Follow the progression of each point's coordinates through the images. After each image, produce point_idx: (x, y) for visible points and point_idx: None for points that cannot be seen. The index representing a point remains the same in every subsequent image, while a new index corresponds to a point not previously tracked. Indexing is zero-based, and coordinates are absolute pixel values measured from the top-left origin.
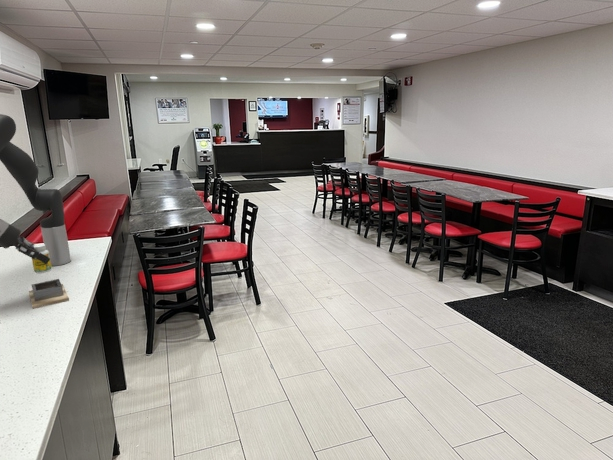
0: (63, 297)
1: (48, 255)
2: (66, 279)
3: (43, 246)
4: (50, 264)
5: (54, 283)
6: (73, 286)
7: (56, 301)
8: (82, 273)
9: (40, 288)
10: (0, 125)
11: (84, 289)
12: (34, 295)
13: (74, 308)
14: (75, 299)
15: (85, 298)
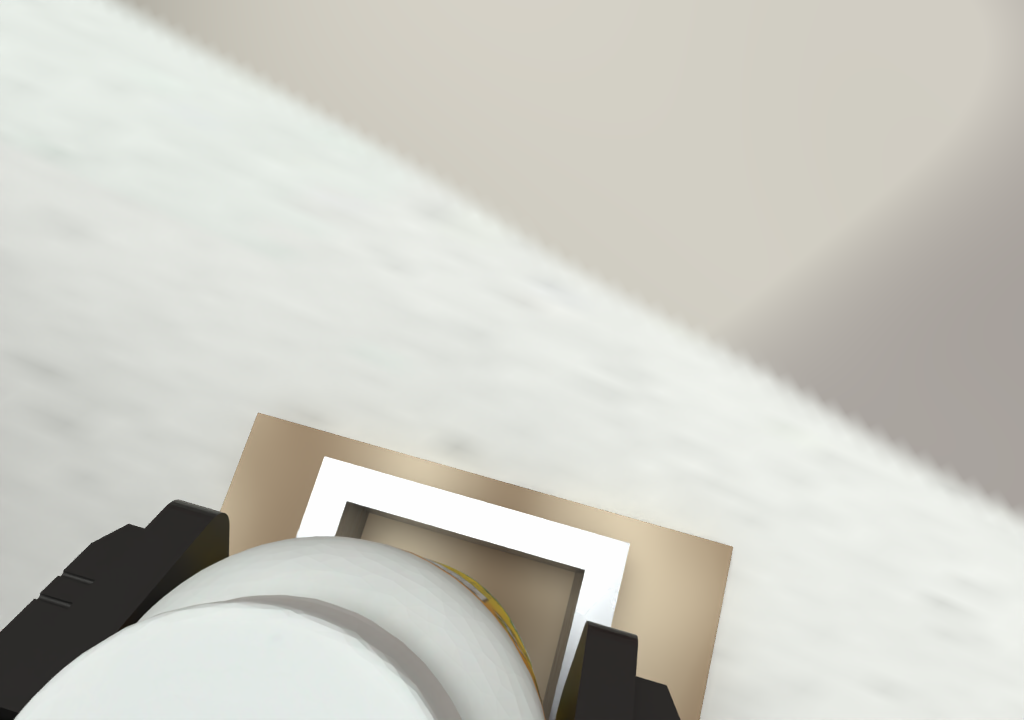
0: (678, 579)
1: (484, 602)
2: (101, 310)
3: None
4: (479, 587)
5: (346, 529)
6: (370, 351)
7: (706, 671)
8: (87, 138)
9: None
10: None
11: (551, 318)
12: None
13: (985, 604)
14: (749, 493)
15: (802, 417)
